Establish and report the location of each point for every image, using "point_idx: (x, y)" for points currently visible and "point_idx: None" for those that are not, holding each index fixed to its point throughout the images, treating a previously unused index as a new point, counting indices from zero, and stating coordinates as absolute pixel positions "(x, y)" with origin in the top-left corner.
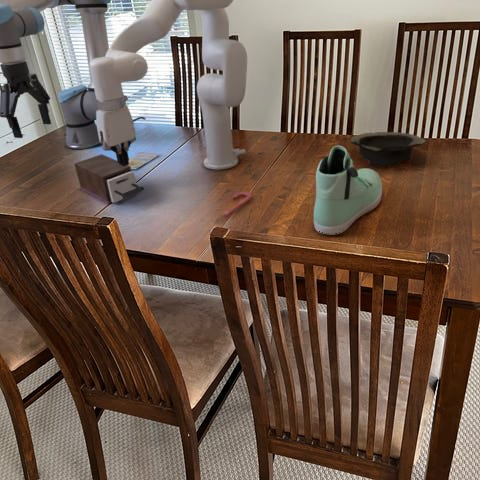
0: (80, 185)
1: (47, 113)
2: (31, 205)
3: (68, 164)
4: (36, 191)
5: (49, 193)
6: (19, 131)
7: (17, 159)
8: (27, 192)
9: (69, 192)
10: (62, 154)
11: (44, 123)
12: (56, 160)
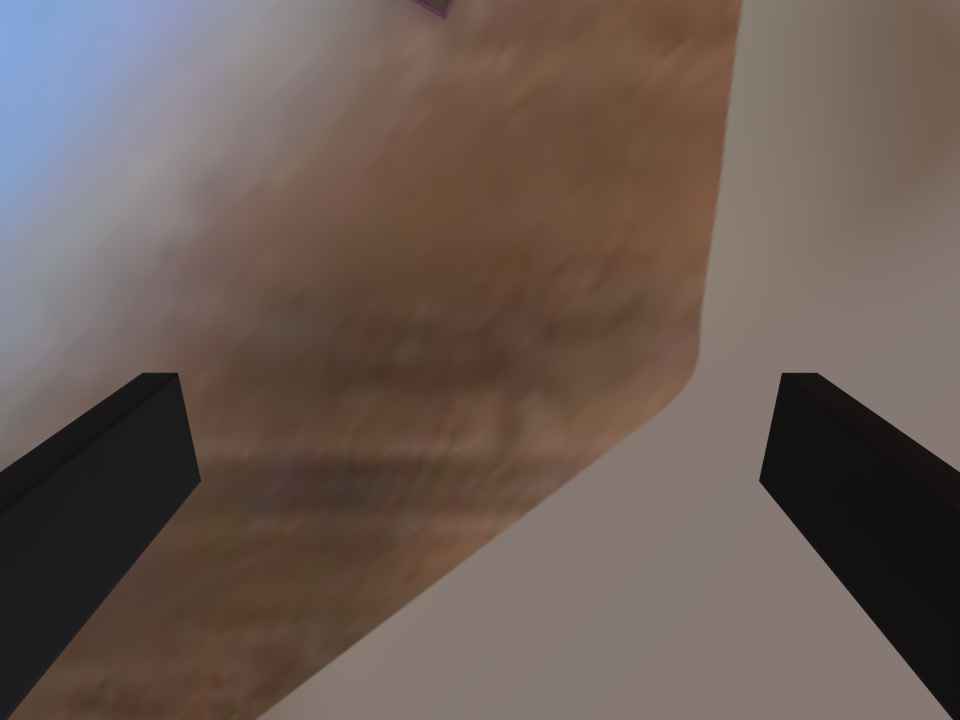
0: (446, 3)
1: (41, 462)
2: (707, 209)
3: None
4: (533, 313)
5: (543, 211)
6: (874, 418)
7: (213, 681)
8: (554, 356)
9: (505, 76)
10: None
11: (192, 464)
12: None
